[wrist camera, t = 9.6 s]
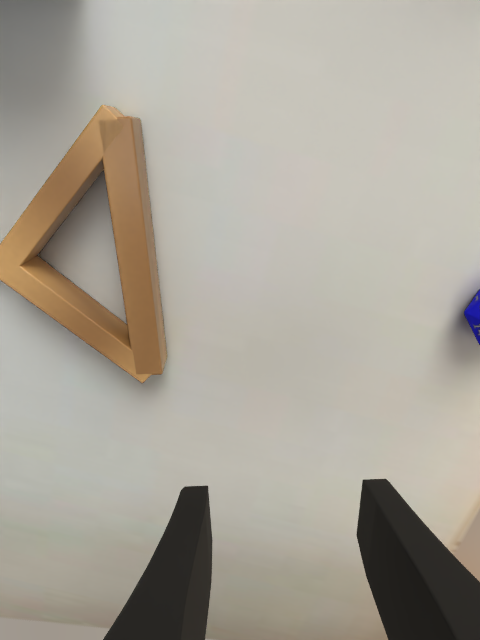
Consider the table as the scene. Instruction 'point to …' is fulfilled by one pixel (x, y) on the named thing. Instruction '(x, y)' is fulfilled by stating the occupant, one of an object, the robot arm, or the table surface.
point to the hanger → (130, 240)
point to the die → (474, 315)
